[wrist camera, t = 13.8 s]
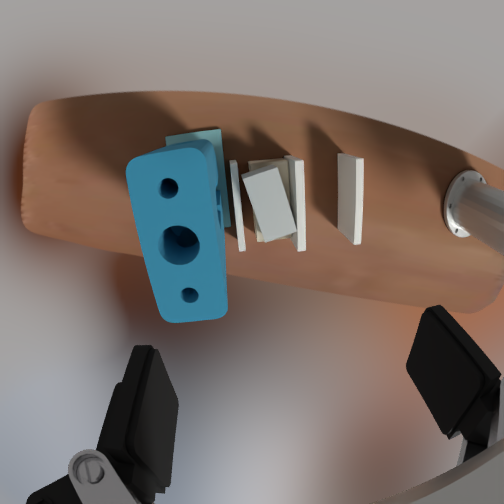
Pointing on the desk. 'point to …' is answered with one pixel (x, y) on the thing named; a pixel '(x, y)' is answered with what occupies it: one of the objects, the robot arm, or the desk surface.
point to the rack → (347, 199)
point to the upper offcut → (269, 202)
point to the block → (181, 229)
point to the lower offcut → (284, 175)
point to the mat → (216, 141)
